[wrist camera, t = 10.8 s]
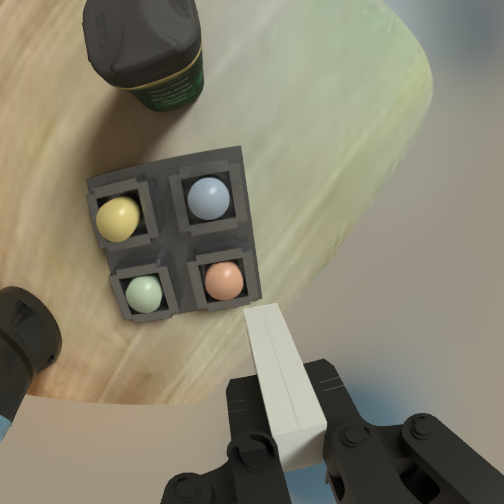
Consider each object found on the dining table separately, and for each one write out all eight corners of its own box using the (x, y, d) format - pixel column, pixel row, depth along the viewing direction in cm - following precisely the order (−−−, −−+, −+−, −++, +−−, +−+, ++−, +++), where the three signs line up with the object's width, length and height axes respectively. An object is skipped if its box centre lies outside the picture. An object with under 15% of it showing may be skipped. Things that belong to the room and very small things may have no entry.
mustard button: (110, 236, 31) (102, 245, 29) (101, 200, 30) (91, 206, 27) (144, 229, 32) (139, 237, 29) (136, 191, 30) (129, 197, 27)
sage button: (136, 303, 37) (132, 315, 34) (126, 273, 35) (121, 284, 32) (167, 298, 37) (164, 310, 34) (158, 267, 35) (155, 278, 33)
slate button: (193, 216, 34) (191, 223, 31) (186, 179, 32) (184, 183, 29) (230, 209, 34) (232, 216, 31) (224, 172, 32) (226, 175, 30)
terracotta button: (209, 291, 38) (209, 303, 35) (202, 260, 36) (201, 270, 33) (242, 285, 38) (245, 296, 35) (237, 253, 36) (240, 263, 33)
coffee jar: (212, 98, 31) (215, 50, 13) (147, 119, 30) (85, 99, 13) (191, 30, 27) (180, -57, 10) (129, 51, 27) (67, -14, 9)
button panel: (130, 316, 39) (124, 331, 35) (89, 178, 31) (77, 182, 28) (261, 295, 40) (265, 309, 37) (240, 145, 33) (243, 145, 30)
